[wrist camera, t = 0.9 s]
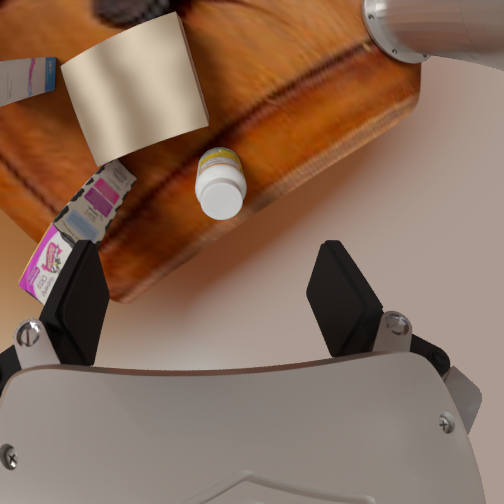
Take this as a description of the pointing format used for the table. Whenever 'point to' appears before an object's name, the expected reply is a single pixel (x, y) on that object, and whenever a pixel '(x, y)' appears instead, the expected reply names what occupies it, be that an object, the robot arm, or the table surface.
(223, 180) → the supplement bottle
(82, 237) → the candy bar box
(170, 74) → the base block
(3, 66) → the ink box
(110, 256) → the table surface
